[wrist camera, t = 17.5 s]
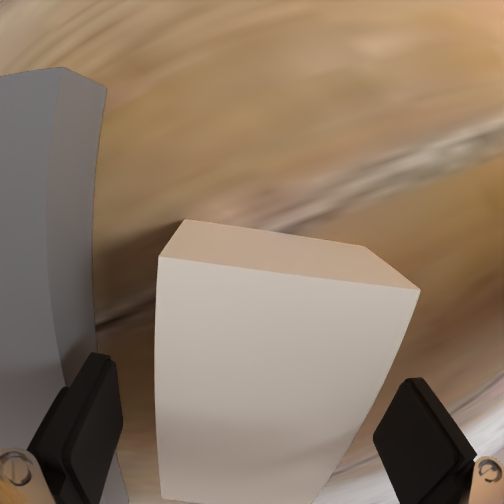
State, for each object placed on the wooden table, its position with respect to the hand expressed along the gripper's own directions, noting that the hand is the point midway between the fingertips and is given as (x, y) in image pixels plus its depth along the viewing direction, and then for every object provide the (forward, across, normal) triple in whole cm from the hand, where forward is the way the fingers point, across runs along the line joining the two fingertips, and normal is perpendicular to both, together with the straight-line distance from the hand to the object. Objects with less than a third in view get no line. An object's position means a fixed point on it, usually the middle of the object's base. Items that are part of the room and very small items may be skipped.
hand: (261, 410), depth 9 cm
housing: (+2, +14, +2) cm, 15 cm away
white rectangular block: (+3, 0, 0) cm, 3 cm away
